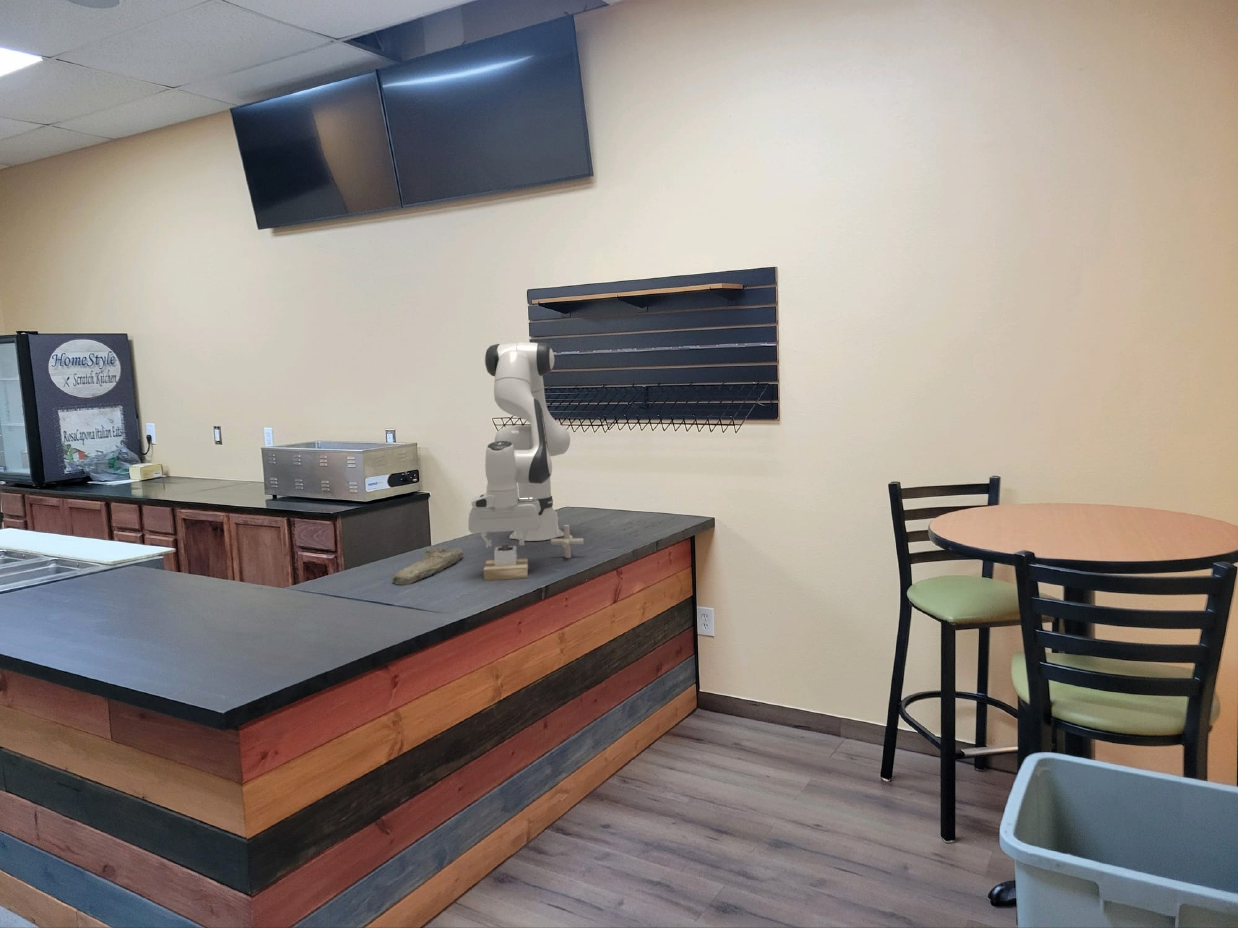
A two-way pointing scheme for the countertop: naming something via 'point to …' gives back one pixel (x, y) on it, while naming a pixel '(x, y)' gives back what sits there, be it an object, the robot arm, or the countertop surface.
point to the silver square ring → (505, 556)
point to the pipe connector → (567, 541)
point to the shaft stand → (506, 569)
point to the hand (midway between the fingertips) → (505, 546)
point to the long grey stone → (428, 565)
